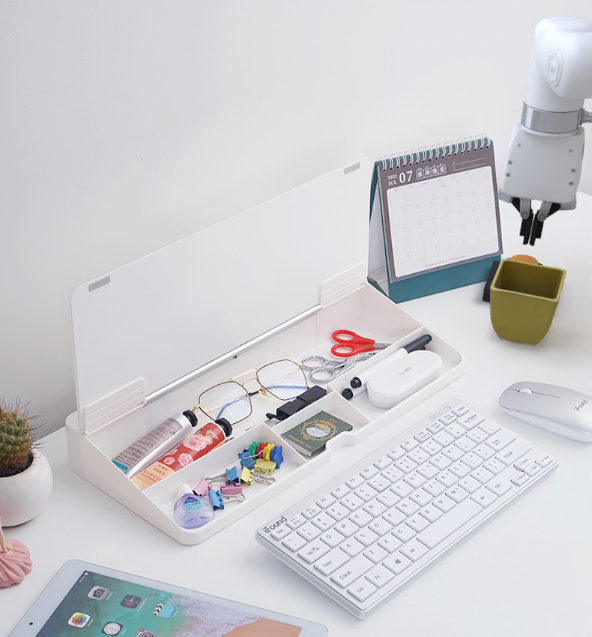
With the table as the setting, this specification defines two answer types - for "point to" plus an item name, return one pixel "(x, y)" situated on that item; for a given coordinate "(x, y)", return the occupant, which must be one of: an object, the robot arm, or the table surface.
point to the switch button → (524, 259)
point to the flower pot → (524, 300)
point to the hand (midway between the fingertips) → (529, 241)
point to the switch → (491, 280)
